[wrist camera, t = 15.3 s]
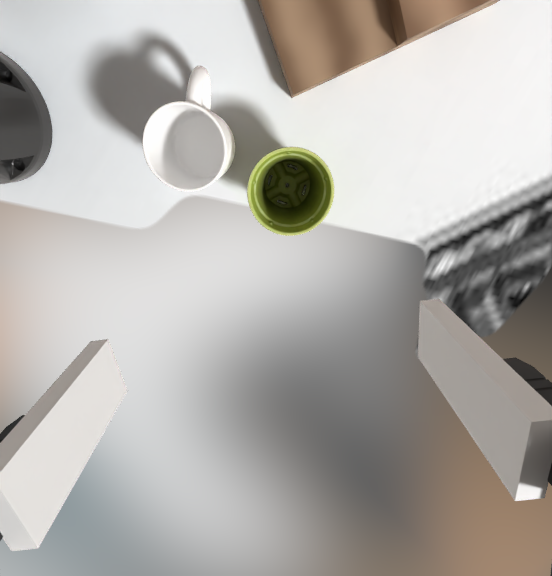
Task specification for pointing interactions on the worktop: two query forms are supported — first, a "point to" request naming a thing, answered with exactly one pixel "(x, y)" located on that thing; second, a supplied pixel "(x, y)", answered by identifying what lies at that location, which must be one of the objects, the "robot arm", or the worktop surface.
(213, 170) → the mug
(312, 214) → the plant pot
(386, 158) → the worktop surface
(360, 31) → the step riser
